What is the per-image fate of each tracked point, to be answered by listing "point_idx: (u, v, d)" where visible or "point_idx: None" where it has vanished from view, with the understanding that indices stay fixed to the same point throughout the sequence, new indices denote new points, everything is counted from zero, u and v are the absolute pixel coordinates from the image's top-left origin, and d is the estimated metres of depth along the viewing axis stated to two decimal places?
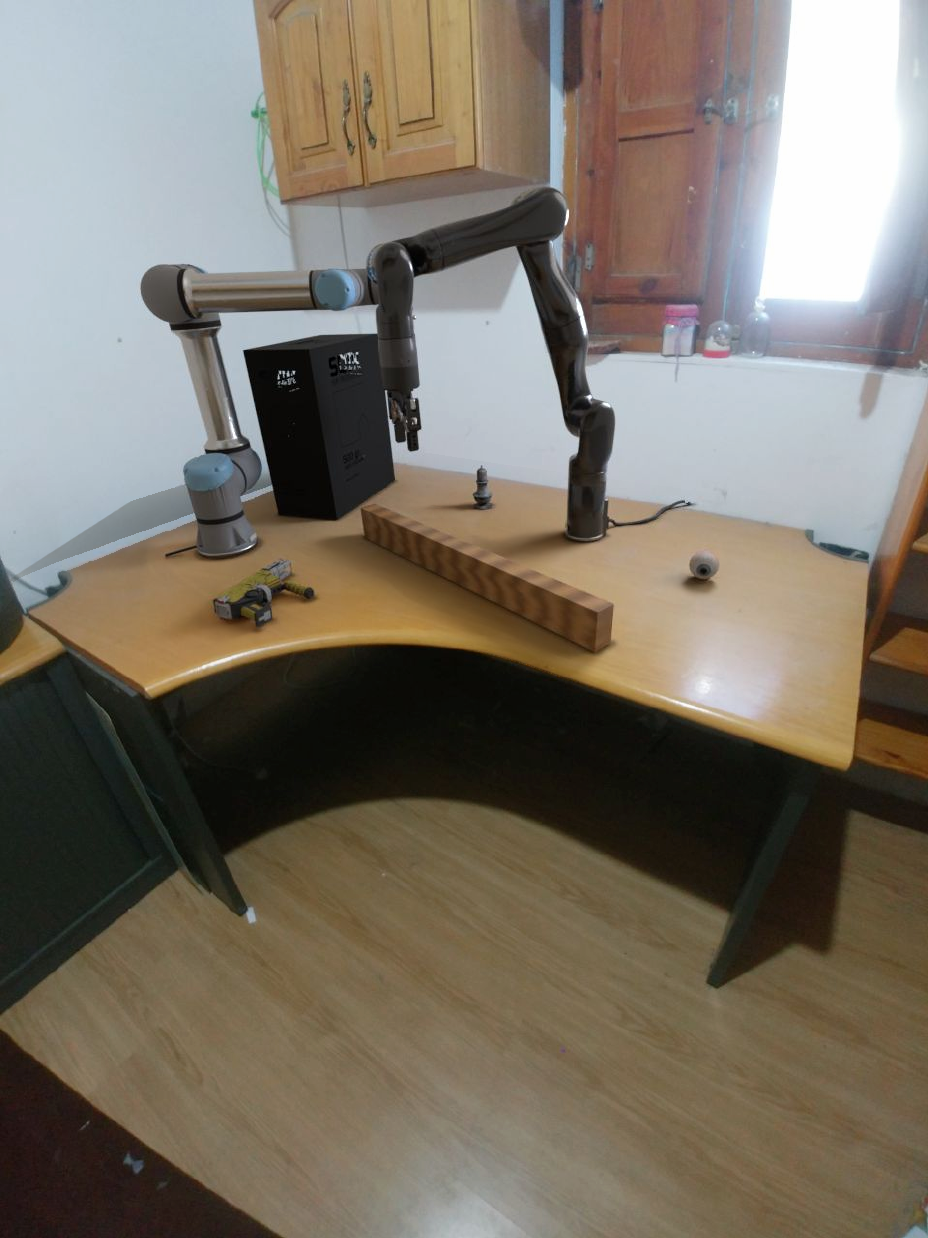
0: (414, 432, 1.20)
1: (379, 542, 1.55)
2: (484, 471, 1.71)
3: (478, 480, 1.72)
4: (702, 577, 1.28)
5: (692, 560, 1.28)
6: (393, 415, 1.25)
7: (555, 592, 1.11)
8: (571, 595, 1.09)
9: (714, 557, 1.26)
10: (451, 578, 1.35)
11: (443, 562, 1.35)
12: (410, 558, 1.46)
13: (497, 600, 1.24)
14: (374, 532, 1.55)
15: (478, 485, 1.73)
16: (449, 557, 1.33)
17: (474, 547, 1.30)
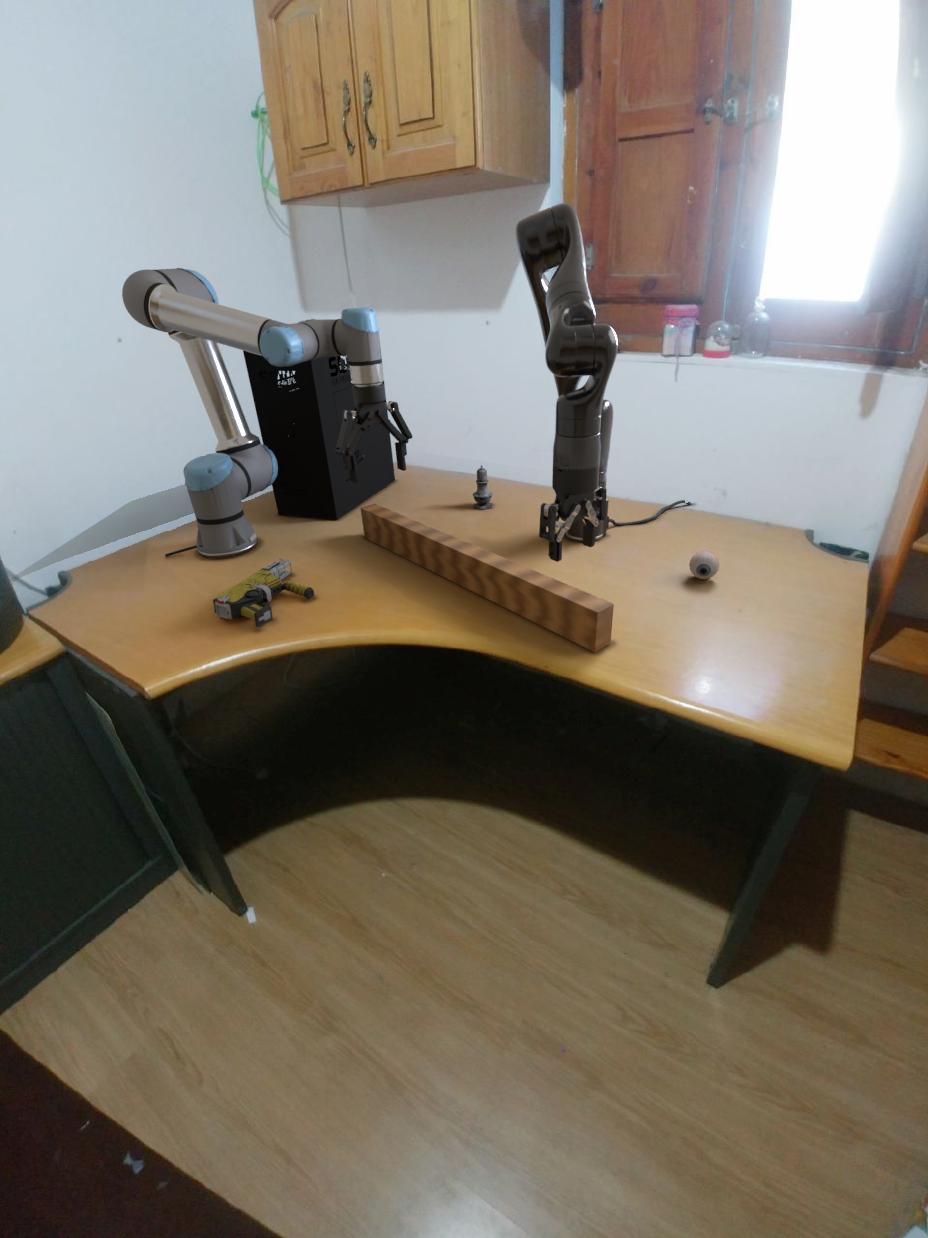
0: None
1: (379, 542, 1.55)
2: (484, 471, 1.71)
3: (478, 480, 1.72)
4: (702, 577, 1.28)
5: (692, 560, 1.28)
6: None
7: (555, 592, 1.11)
8: (571, 595, 1.09)
9: (714, 557, 1.26)
10: (451, 578, 1.35)
11: (443, 562, 1.35)
12: (410, 558, 1.46)
13: (497, 600, 1.24)
14: (374, 532, 1.55)
15: (478, 485, 1.73)
16: (449, 557, 1.33)
17: (474, 547, 1.30)
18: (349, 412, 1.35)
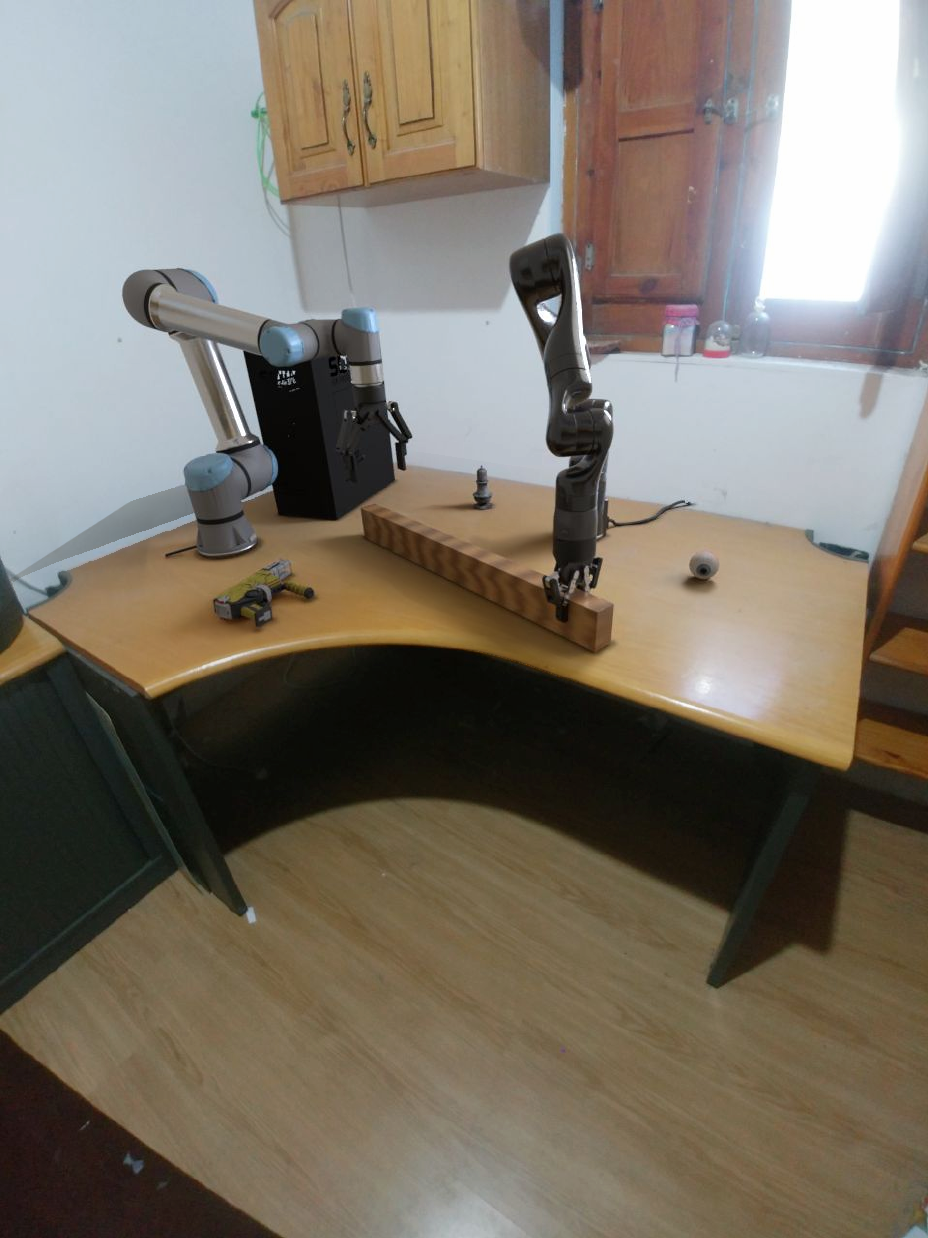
0: None
1: (379, 542, 1.55)
2: (484, 471, 1.71)
3: (478, 480, 1.72)
4: (702, 577, 1.28)
5: (692, 560, 1.28)
6: None
7: None
8: (571, 595, 1.09)
9: (714, 557, 1.26)
10: (451, 578, 1.35)
11: (443, 562, 1.35)
12: (410, 558, 1.46)
13: (497, 600, 1.24)
14: (374, 532, 1.55)
15: (478, 485, 1.73)
16: (449, 557, 1.33)
17: (474, 547, 1.30)
18: (349, 412, 1.35)
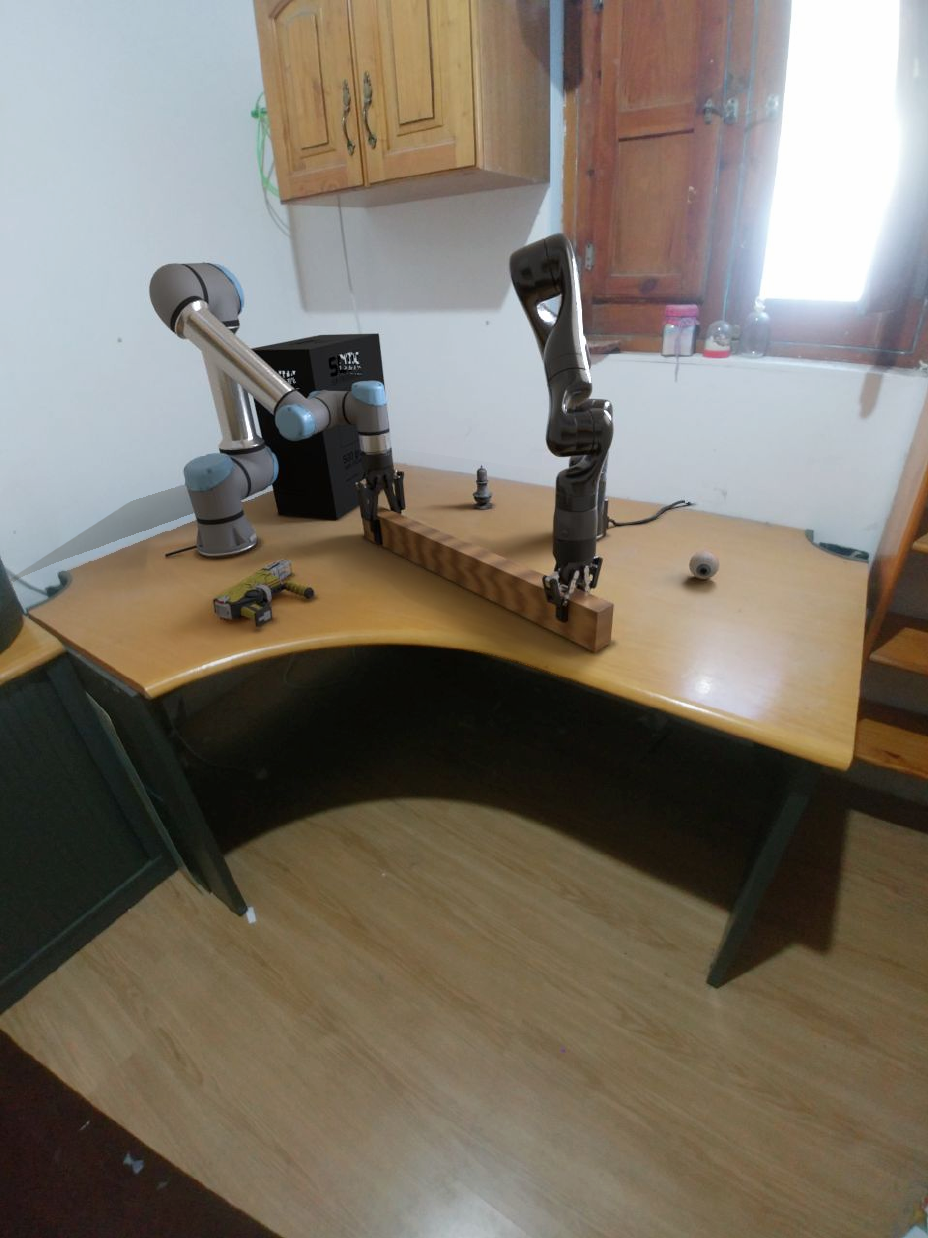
0: None
1: None
2: (484, 471, 1.71)
3: (478, 480, 1.72)
4: (702, 577, 1.28)
5: (692, 560, 1.28)
6: None
7: None
8: (571, 595, 1.09)
9: (714, 557, 1.26)
10: (451, 578, 1.35)
11: (443, 562, 1.35)
12: (410, 558, 1.46)
13: (497, 600, 1.24)
14: None
15: (478, 485, 1.73)
16: (449, 557, 1.33)
17: (474, 547, 1.30)
18: (360, 484, 1.44)
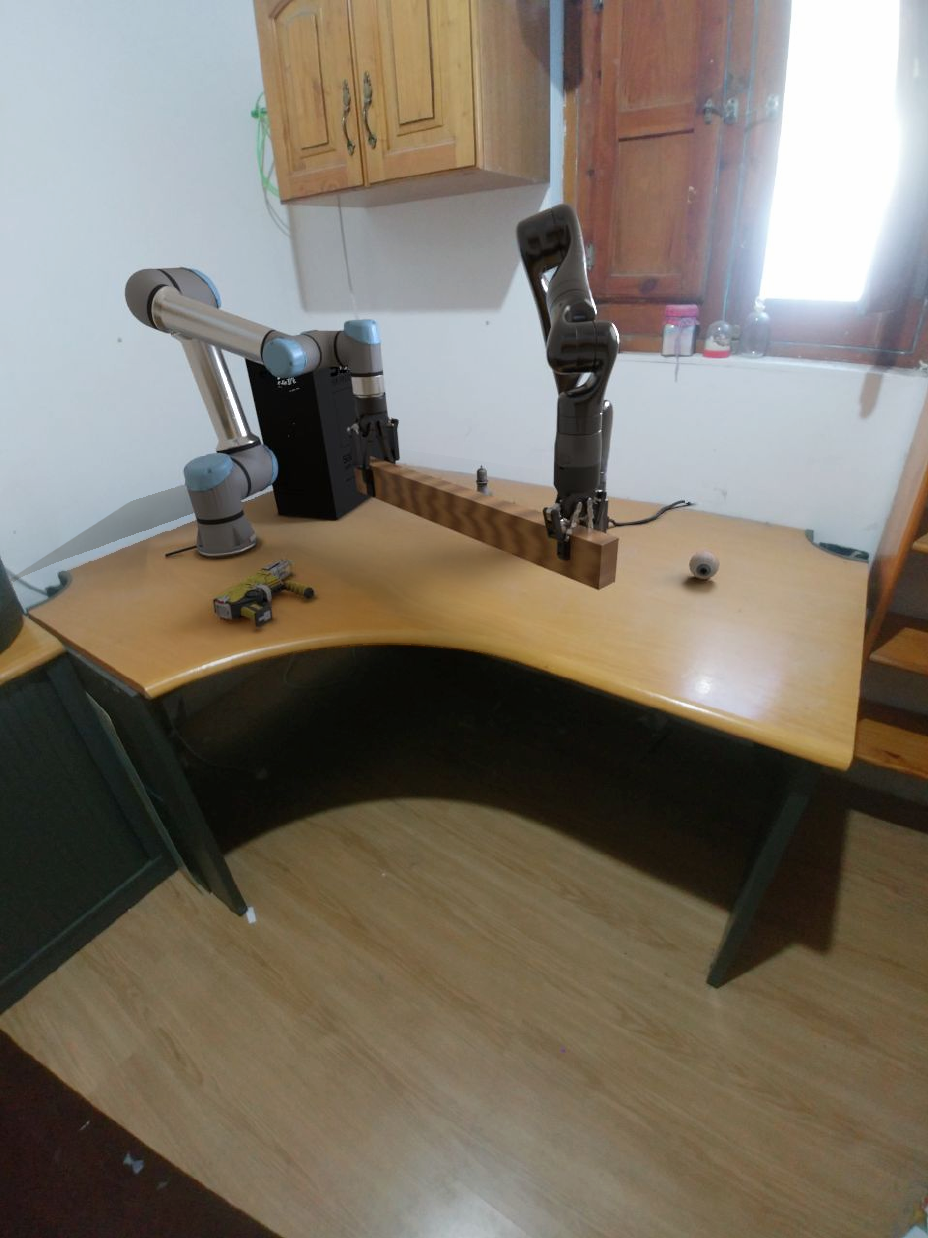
0: None
1: None
2: (484, 471, 1.71)
3: (478, 480, 1.72)
4: (702, 577, 1.28)
5: (692, 560, 1.28)
6: None
7: None
8: (574, 531, 1.03)
9: (714, 557, 1.26)
10: (447, 525, 1.29)
11: (438, 508, 1.29)
12: (404, 508, 1.40)
13: (495, 543, 1.18)
14: None
15: (478, 485, 1.73)
16: (445, 502, 1.26)
17: (471, 491, 1.24)
18: (352, 430, 1.37)
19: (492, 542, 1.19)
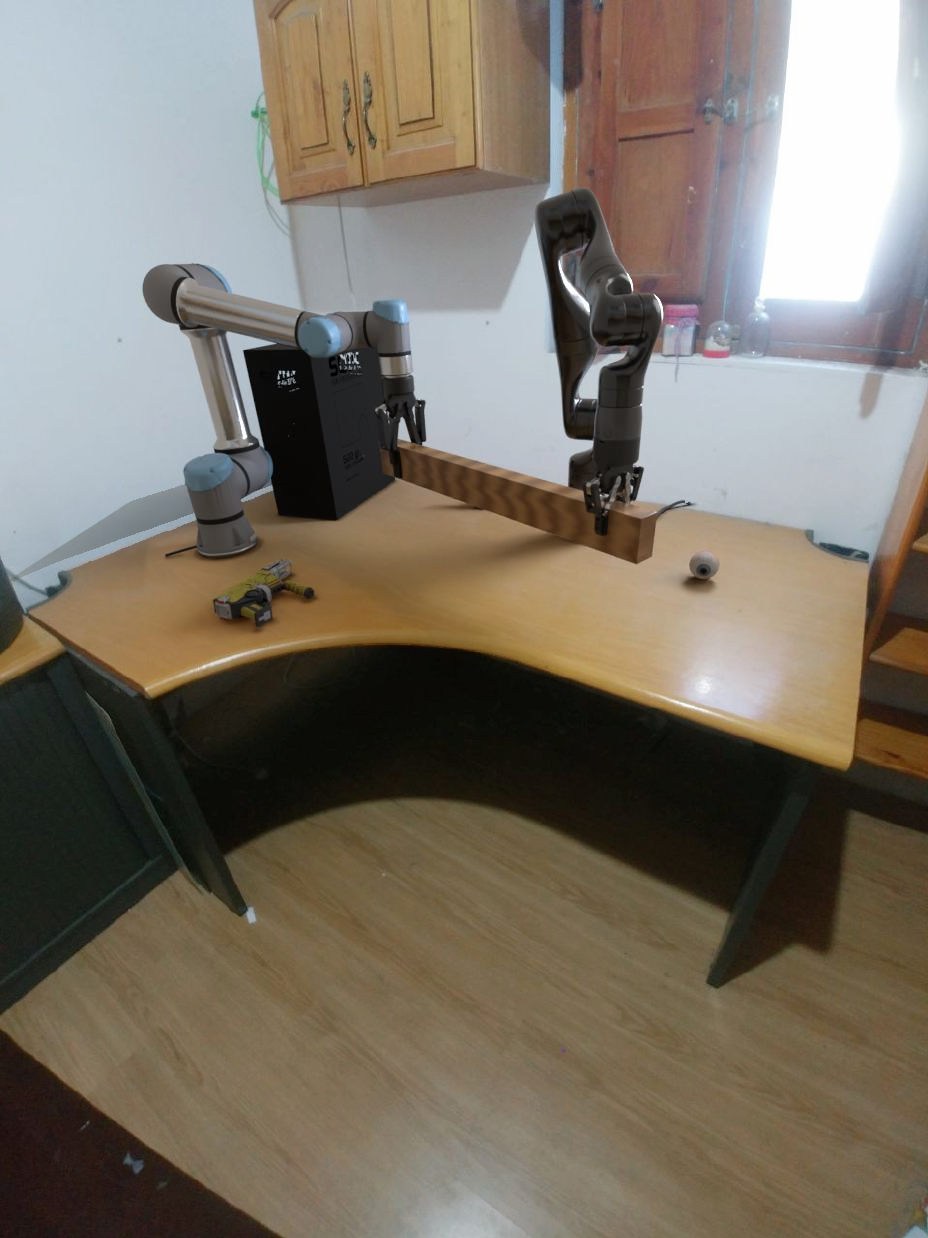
0: None
1: None
2: None
3: None
4: (702, 577, 1.28)
5: (692, 560, 1.28)
6: None
7: None
8: (611, 505, 1.04)
9: (714, 557, 1.26)
10: (477, 504, 1.30)
11: (469, 488, 1.30)
12: (432, 489, 1.40)
13: (528, 521, 1.19)
14: None
15: None
16: (476, 481, 1.27)
17: (503, 469, 1.25)
18: (380, 410, 1.38)
19: (525, 520, 1.20)
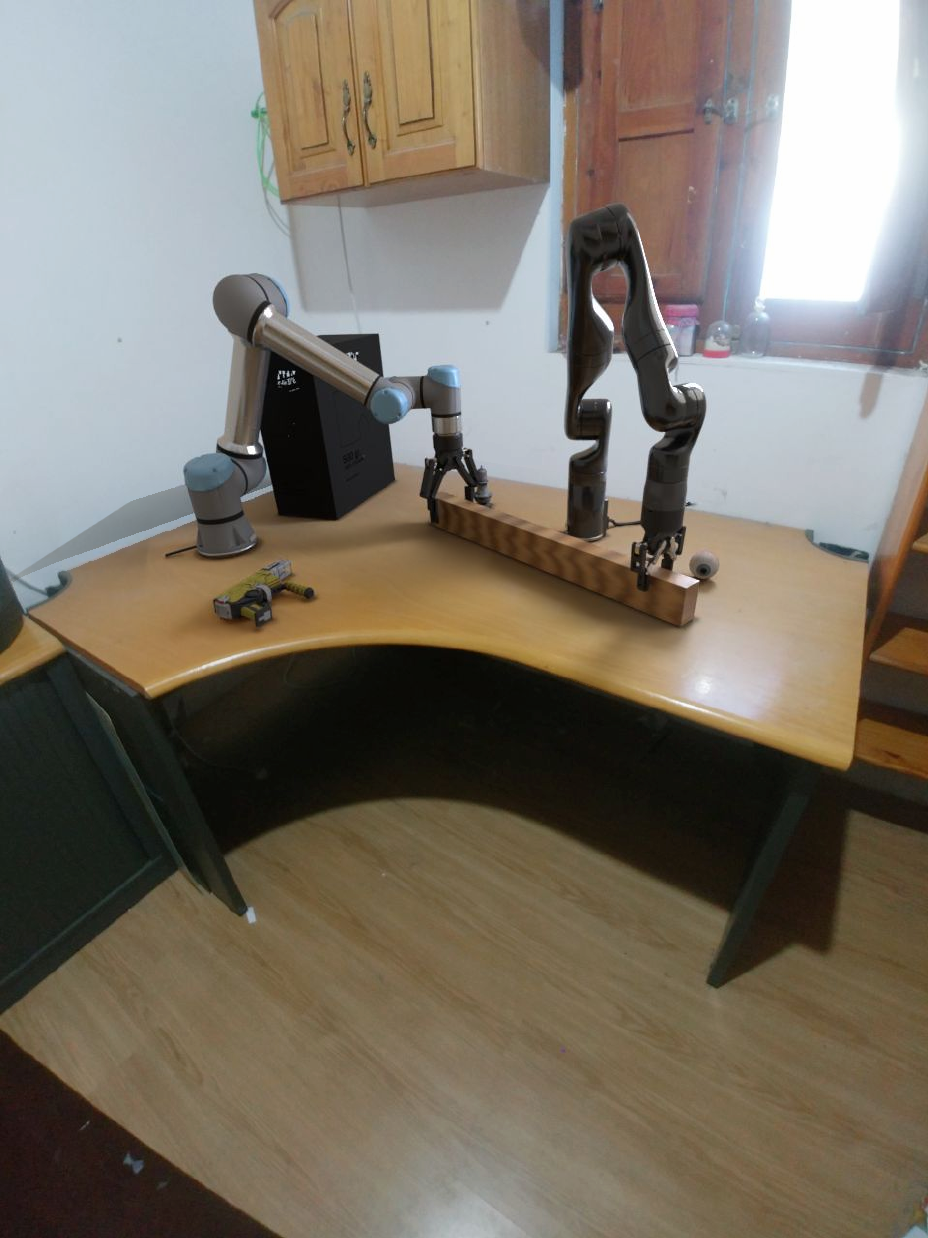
0: None
1: (447, 528, 1.61)
2: (484, 471, 1.71)
3: None
4: (702, 577, 1.28)
5: (692, 560, 1.28)
6: None
7: None
8: (657, 573, 1.15)
9: (714, 557, 1.26)
10: (526, 561, 1.41)
11: (517, 545, 1.41)
12: (481, 543, 1.52)
13: (576, 580, 1.30)
14: (442, 518, 1.61)
15: (478, 485, 1.73)
16: (525, 540, 1.38)
17: (550, 530, 1.36)
18: (431, 460, 1.48)
19: (573, 578, 1.31)
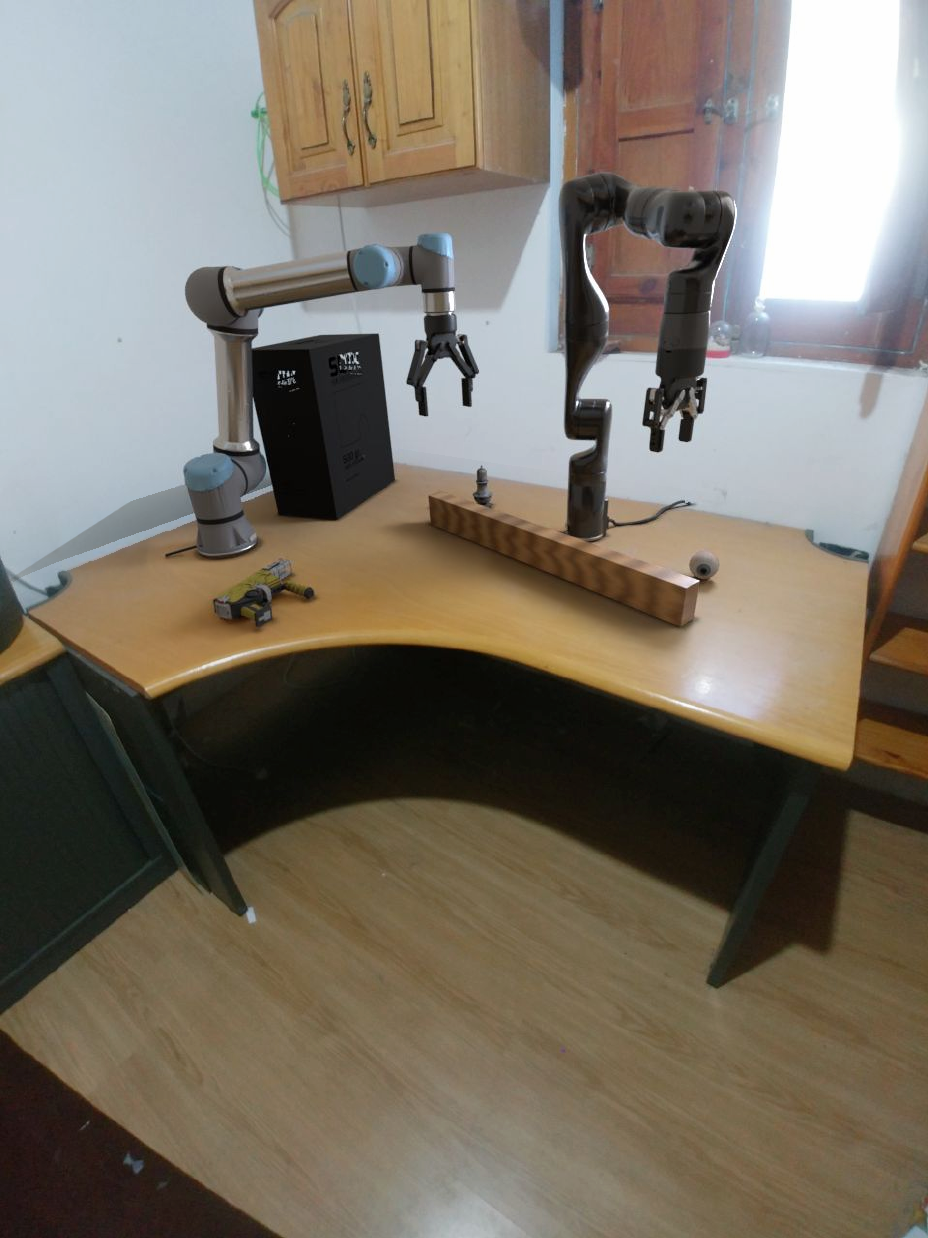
0: None
1: (447, 528, 1.61)
2: (484, 471, 1.71)
3: (478, 480, 1.72)
4: (702, 577, 1.28)
5: (692, 560, 1.28)
6: None
7: (640, 570, 1.16)
8: (657, 573, 1.15)
9: (714, 557, 1.26)
10: (526, 561, 1.41)
11: (517, 545, 1.41)
12: (481, 543, 1.52)
13: (576, 580, 1.30)
14: (442, 518, 1.61)
15: (478, 485, 1.73)
16: (525, 540, 1.38)
17: (550, 530, 1.36)
18: (422, 341, 1.35)
19: (573, 578, 1.31)
